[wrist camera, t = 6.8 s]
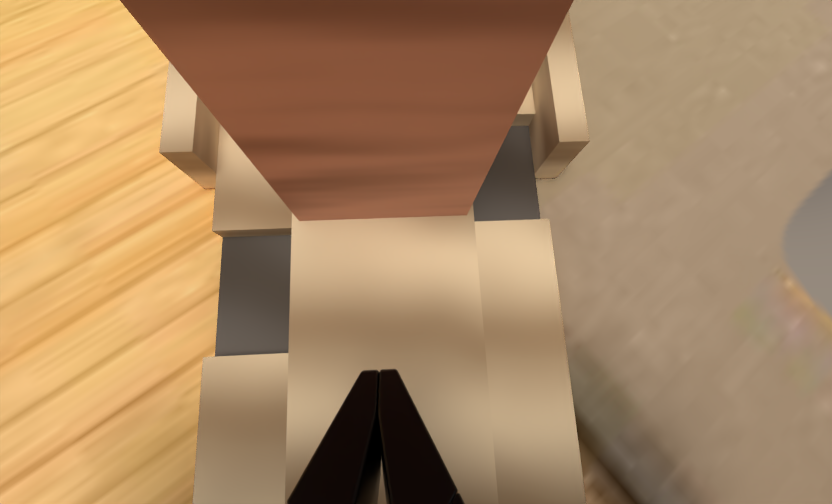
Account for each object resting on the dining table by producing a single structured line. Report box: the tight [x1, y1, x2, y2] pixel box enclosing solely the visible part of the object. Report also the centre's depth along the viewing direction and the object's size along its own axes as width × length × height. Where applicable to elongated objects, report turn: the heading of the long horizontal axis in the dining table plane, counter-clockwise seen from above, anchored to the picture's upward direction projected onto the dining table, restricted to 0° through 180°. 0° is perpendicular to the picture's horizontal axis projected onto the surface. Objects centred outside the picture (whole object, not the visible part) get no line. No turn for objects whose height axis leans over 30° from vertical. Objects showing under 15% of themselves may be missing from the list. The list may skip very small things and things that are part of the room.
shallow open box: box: [159, 10, 590, 504], centre depth 17 cm, size 25×16×4 cm, turn 3°
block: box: [120, 0, 573, 221], centre depth 12 cm, size 8×7×11 cm
